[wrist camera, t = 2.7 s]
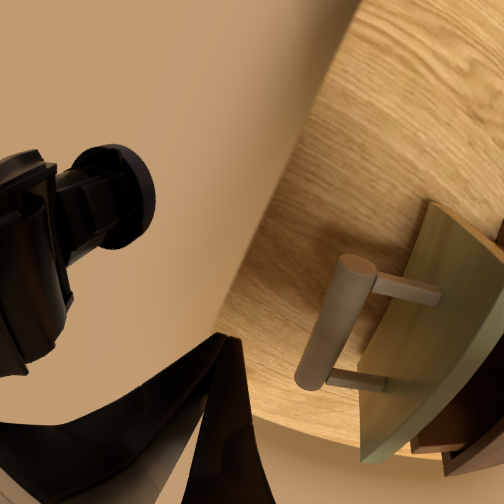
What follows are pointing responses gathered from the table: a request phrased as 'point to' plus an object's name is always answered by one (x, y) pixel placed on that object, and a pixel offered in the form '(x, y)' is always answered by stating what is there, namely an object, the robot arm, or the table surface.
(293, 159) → the table surface
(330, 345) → the drawer
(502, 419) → the cabinet
